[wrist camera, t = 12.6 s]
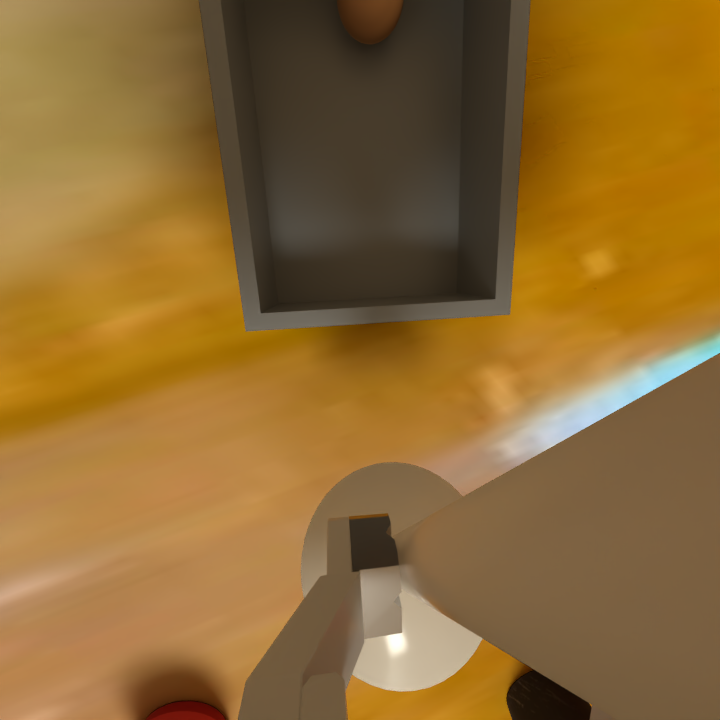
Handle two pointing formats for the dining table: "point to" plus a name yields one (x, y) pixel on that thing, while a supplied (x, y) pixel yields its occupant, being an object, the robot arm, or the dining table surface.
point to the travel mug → (544, 700)
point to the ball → (369, 18)
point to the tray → (369, 158)
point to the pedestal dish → (563, 560)
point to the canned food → (186, 712)
